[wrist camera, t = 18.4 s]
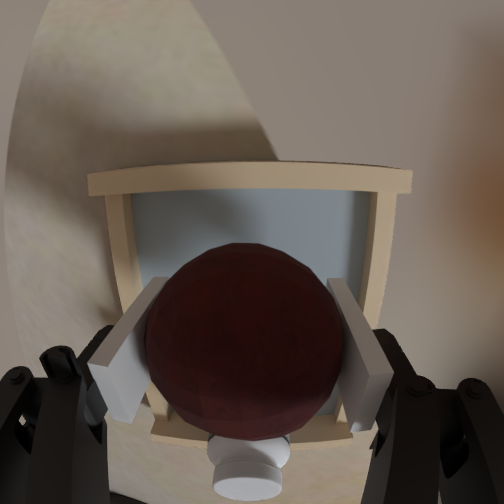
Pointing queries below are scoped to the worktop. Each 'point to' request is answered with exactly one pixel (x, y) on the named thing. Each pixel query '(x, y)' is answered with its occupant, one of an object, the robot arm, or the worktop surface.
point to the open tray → (254, 231)
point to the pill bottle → (248, 466)
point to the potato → (244, 342)
